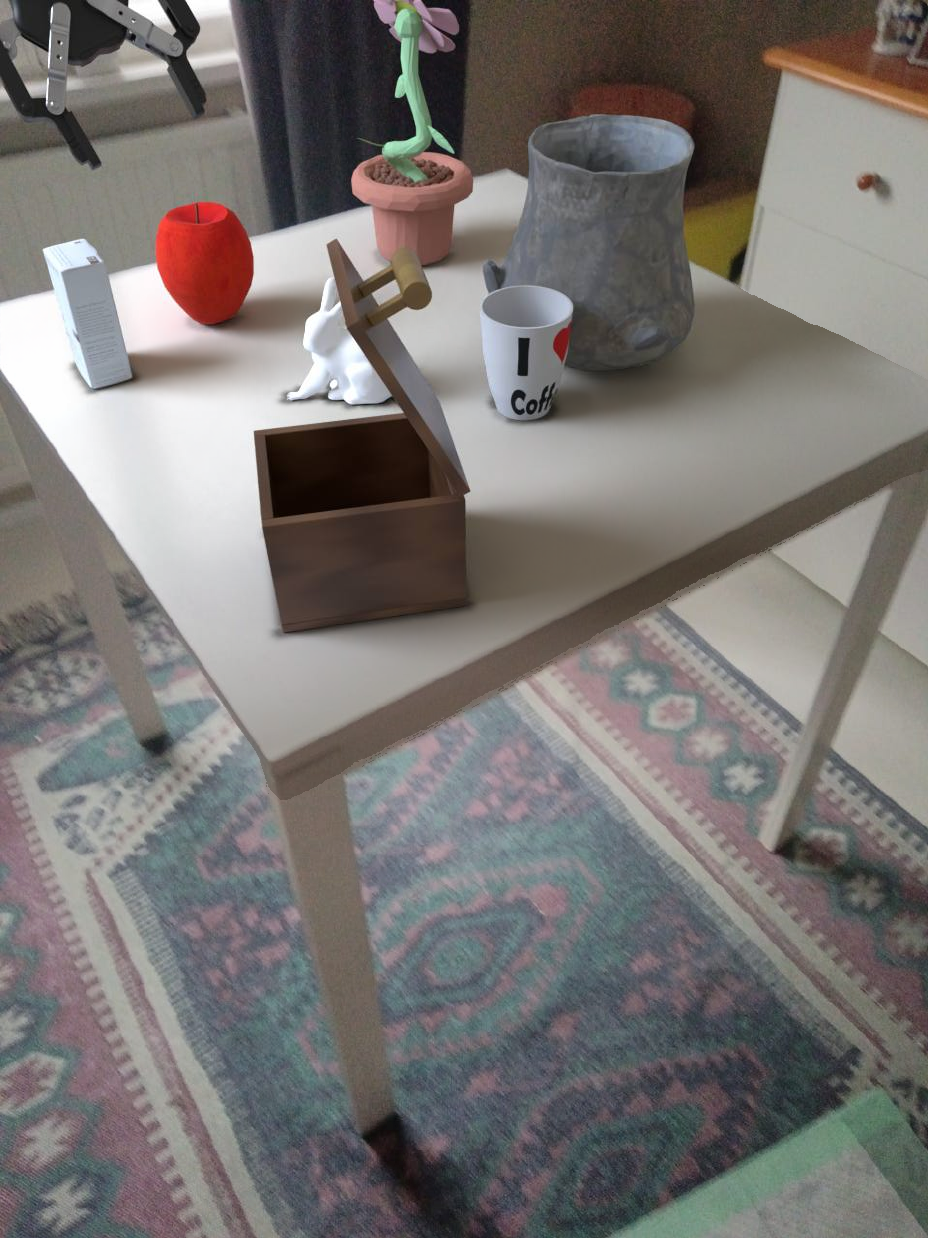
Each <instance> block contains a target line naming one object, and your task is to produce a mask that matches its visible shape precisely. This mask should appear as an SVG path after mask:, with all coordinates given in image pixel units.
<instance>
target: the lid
mask: <svg viewBox="0 0 928 1238" xmlns="http://www.w3.org/2000/svg"><path fill="white" fill-rule="evenodd" d="M326 249H327V253H328V258H329V261H330V266H331V270H332V274H333V277H334V278H335V282H336V286H337V291H338V292H337V295H338V299H339V302H340V303H341V307H342V311H343V315H344V316H343V319H344V323H345V327H346V329H347V330H348V331H349V333H350V334H351V335H352V337H353V338H354V340H355V341H356V343H357V344H358V346H359V347H360V349H361V350H362V352H363V353H364V355H365V356H366V358H367V359H368V361H369V362H370V364H371V365H372V367H373V368H374V370H375V371H376V373H377V374H378V376H379V377H380V378H381V380H382V381H383V383H384V384H385V386H386V387H387V389H388V390H389V392H390V393H391V395H392V396H393V397H392V398H393V400H394V401H395V403H396V404H397V405H398V408H400V409H401V411H402V413H404V414H405V416H406V417H407V418H408V420H409V421H410V423H411V424H412V426H413V427H414V429H415V430H416V432H417V433H418V435H419V436H420V438H421V439H422V441H423V442H424V444H425V445H426V447H427V448H428V450H429V451H430V453H431V454H432V456H433V457H434V459H435V460H436V461H437V463H438V464H439V466H440V467H441V469H442V470H443V472H444V473H445V475H446V476H447V478H448V479H449V481H450V482H451V484H452V485H453V487H454V488H455V490H456V491H457V493H458V494H459V496H460V497H461V496H463V495H464V496H465V495H467V494H469V493H470V492H471V488H470V485H469V482H468V479H467V477H466V474H465V472H464V471H465V470H464V467H463V466H462V463H461V459H460V456H459V453H458V451H457V447H456V445H455V442H454V439H453V437H452V433H451V430H450V427H449V425H448V422H447V419H446V416H445V414H444V411H443V407H442V405H441V401H440V399H439V398H438V396H437V394H436V393H435V391H434V390H433V389H432V387H431V385H430V384H429V382H428V380H427V378H426V377H425V376H424V374H423V372H422V371H421V369H420V368H419V366H418V365H417V363H416V361H415V360H414V358H413V357H412V356H411V354H410V352H409V351H408V348H407V347H406V345H405V344H404V342H403V341H402V339H401V338H400V337H399V335H398V332H397V331H396V330H395V328H394V327H393V325H392V324H391V322H390V321H389V318H391V317H392V316H394V315H396V314H397V313H399V312H401V311H402V310H404V309H406V308H408V309H410V310H414V311H420V310H423V309H425V308H427V307H428V306H429V305H430V304H431V302H432V299H433V291H432V288H431V286H430V283H429V281H428V279H427V275H426V273H425V270H424V268H423V265H421V263H420V260H419V258H418V255H417V254H416V252H415V251H414V250H412V249H410V248H406V247H404V248H400V249H398V250H396V251H395V252H394V253H393V255H392V257H391V261H390V265H388V266H386V267H384V268H383V269H381V270H380V271H378V272H376V273H374V274H373V275H371V276H369V277H368V278H366V279H364V280H363V278H362V275H360V273H359V271H358V269H357V268H356V267H355V265H354V264H353V261H352V259H350V257H349V256H348V253H346V250H345V249H344V247H343V246H342V245H341V243H340V242H339V239H338V238H335V239H333V240H331V241H329V242H327V243H326ZM393 281H395V282H396V283H397V287H398V290H399V293H398V294H396V295H394V296H393V297H391V298H390V299H387V300H386V301H384V302H383V303H381V304H380V305H379V303H378V301H377V300H376V299H375V297H374V295H373V294H374V293H375V292H376V291H378V290H380V289H382V288H383V287H385V286H386V285H389V284H390V283H392V282H393ZM395 331H396V332H395Z"/></svg>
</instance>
